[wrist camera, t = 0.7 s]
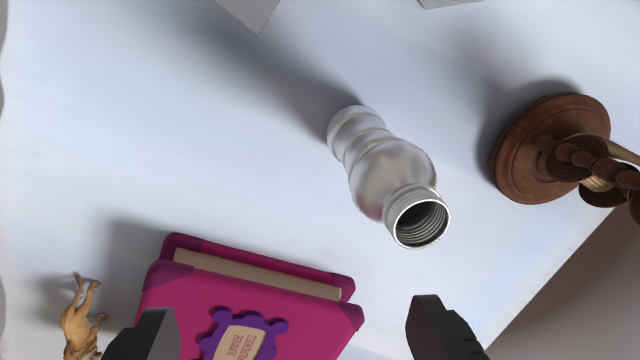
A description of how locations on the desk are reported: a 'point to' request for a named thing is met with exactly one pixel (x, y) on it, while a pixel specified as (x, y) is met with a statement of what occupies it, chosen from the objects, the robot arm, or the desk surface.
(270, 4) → the lid
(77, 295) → the lion figurine
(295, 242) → the desk surface
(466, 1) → the supplement box
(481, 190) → the desk surface
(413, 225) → the plastic bottle
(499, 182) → the brown wooden sculpture
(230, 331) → the book
